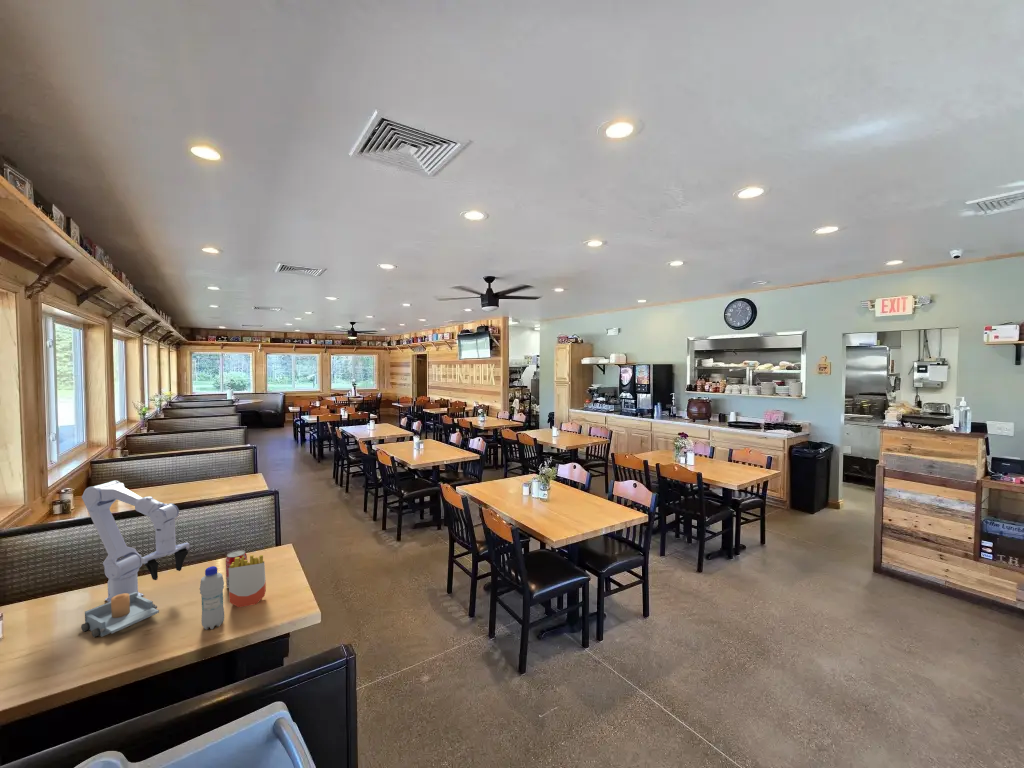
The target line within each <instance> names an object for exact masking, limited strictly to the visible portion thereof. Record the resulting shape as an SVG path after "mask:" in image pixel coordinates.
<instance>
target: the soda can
mask: <svg viewBox="0 0 1024 768" xmlns="http://www.w3.org/2000/svg"><path fill="white" fill-rule="evenodd" d="M235 557H240V559H242V557H244V560H247V561H248V557H247V553H246V551H245V550H243V549H239V550H238V549H237V550H234V551H231V552H228V553H227V554H226V558H225V579H226V581H225V582H226V587H227V588H228V589H229V567H230V565H231V564H232V562H234V564H235ZM239 562H240V560H239Z"/></svg>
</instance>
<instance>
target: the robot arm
mask: <svg viewBox="0 0 1024 768" xmlns="http://www.w3.org/2000/svg"><path fill="white" fill-rule="evenodd" d="M125 486H126V485H125V484H124V482H121V481H119V480H110V481H108V482H105V483H101V484H97V485H94V486H88V487H86V488H85V490H84V491H83V494H82V495H81V499H82V501H83V503H84V505H85V507H86V510H87V512H88V515H89V516H90V518H91V521H92V523H93V524H94V527H95V529H96V531H97V533H98V536H99V538H100V540H101V542H102V544H103V547H104V548H105V551H106V553H107V556H106V558H105V559H104V561H102V566H103V567H104V575H105V576H106V578H108V581H107V597H106V598H105V599H104V601H107V603H108V602H111V598H112V597H114V596H116V595H119V594H123V593H128V594H131V593H134V592H138V595H139V596H141V597H143V596H144V593H141V592H140V591H139V582H138V572H139V571H140V568H141V567H142V565H145V567H146V568H147V570H148V571H149V573H150V576H151V579H152V580H153V581H158V578H159V577H158V571H159V569H158V568H159V565H160V562H158V561H157V559H160V558H163V557H166V556H170V555H173V554H174V560H175V570H176V571H178V572H180V571H182V568H183V564H184V561H185V559H186V557H187V555H188V554H189V549H190V542H183V543H180V544H177V542H176V541H177V540H176V537H177V536H176V518H177V517H178V516H179V511H180V510H179V507H178V506H177V505H176V504H174V503H173V502H170V503H164V502H162V501H159V500H157V499H155V498H154V497H153V496H143V497H142V496H140V495H139V494H137V493H135V492H134V491H132V490H131V489H128V488H126V487H125ZM117 500H118V501H120V502H122V503H126V504H128V505H131V506H133V507H134V510H135V511H136V512H137V513H141V514H142V515H144V516H146V517H149V519H150V521H151V522H152V524H153V528H154V531H155V533H154V535H155V551H154V552H151V553H148V554H147V555H145V556H142V555H141V554H139V552H138V551H137V549H136V548H134V547H131V546H128V545H127V544H126V542H125V539H124V537H123V535H122V532H121V531H120V528H119V527H118V524H117V522H116V520H115V517H114V516H113V514H112V511H111V510H110V508H111V507H112V505H113V504H114V503H115V502H116V501H117Z"/></svg>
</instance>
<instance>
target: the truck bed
mask: <svg viewBox="0 0 1024 768" xmlns="http://www.w3.org/2000/svg"><path fill="white" fill-rule="evenodd" d="M138 592H139V591H138ZM138 592H134V593H131V594H129V599H130V613H129V614H127V615H125V616H123V617H119V618H112V611H111V602H108V601H107V602H106V603H103V604H100V605H98V606H95V607H93V608H90V609H88V610H85V611H84V623H82V624H81V627H80V629H81V631H82V632H83V633H84V632H86V631H90V632H91V636H92V637H93V638H97V637H99V636H100V637H104V636H107V635H110V634H111V633H110V632H108V631H106V627H108V626H111V625H113V624H115V623H118V622H120V621H122V620H125V619H127V618H129V617H132V616H134V615H136V614H139V613H141V612H143V611H146V610H148V609H150V608H155V609H158V605H156V604H154V602H153V600H150V599H148V598H146V597H143V596H139V595H138Z"/></svg>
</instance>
